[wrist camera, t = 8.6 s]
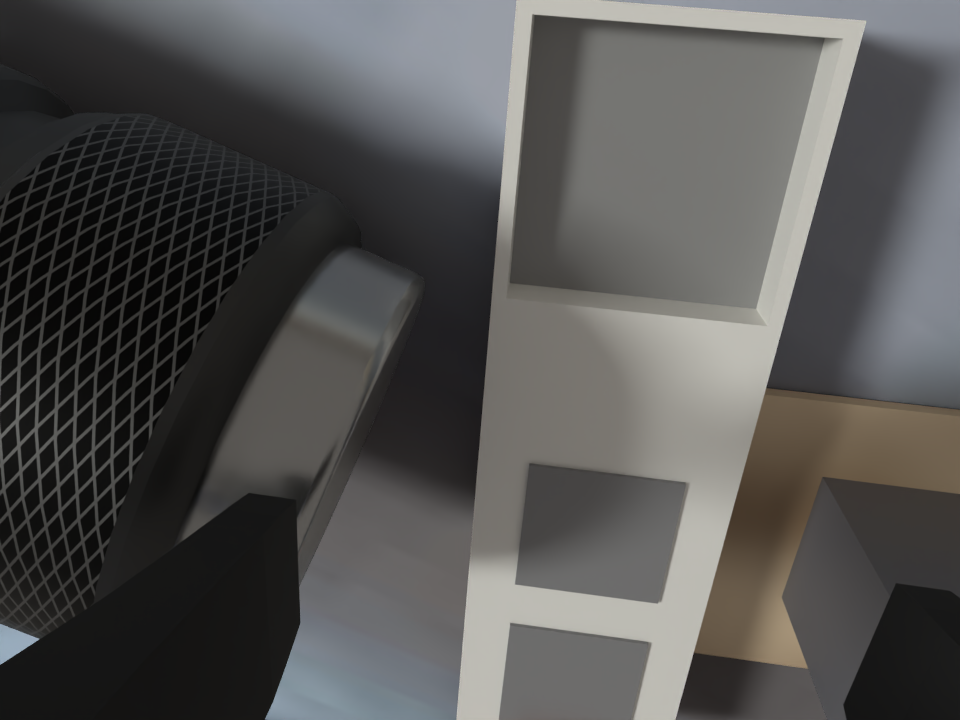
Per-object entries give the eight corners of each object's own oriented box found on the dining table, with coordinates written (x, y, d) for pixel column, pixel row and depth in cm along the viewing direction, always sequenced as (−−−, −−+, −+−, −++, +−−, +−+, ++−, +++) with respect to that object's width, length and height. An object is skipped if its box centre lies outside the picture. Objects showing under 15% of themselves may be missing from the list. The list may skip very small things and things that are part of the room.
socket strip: (648, 694, 24) (660, 801, 20) (466, 668, 24) (450, 769, 21) (813, 21, 15) (879, 20, 12) (526, -1, 15) (514, -7, 12)
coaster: (977, 682, 22) (984, 693, 21) (678, 640, 22) (679, 650, 22) (1110, 426, 18) (1121, 435, 18) (744, 385, 19) (747, 392, 18)
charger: (931, 617, 21) (1049, 810, 15) (781, 597, 21) (849, 779, 16) (987, 497, 19) (1141, 670, 14) (822, 476, 19) (913, 638, 14)
